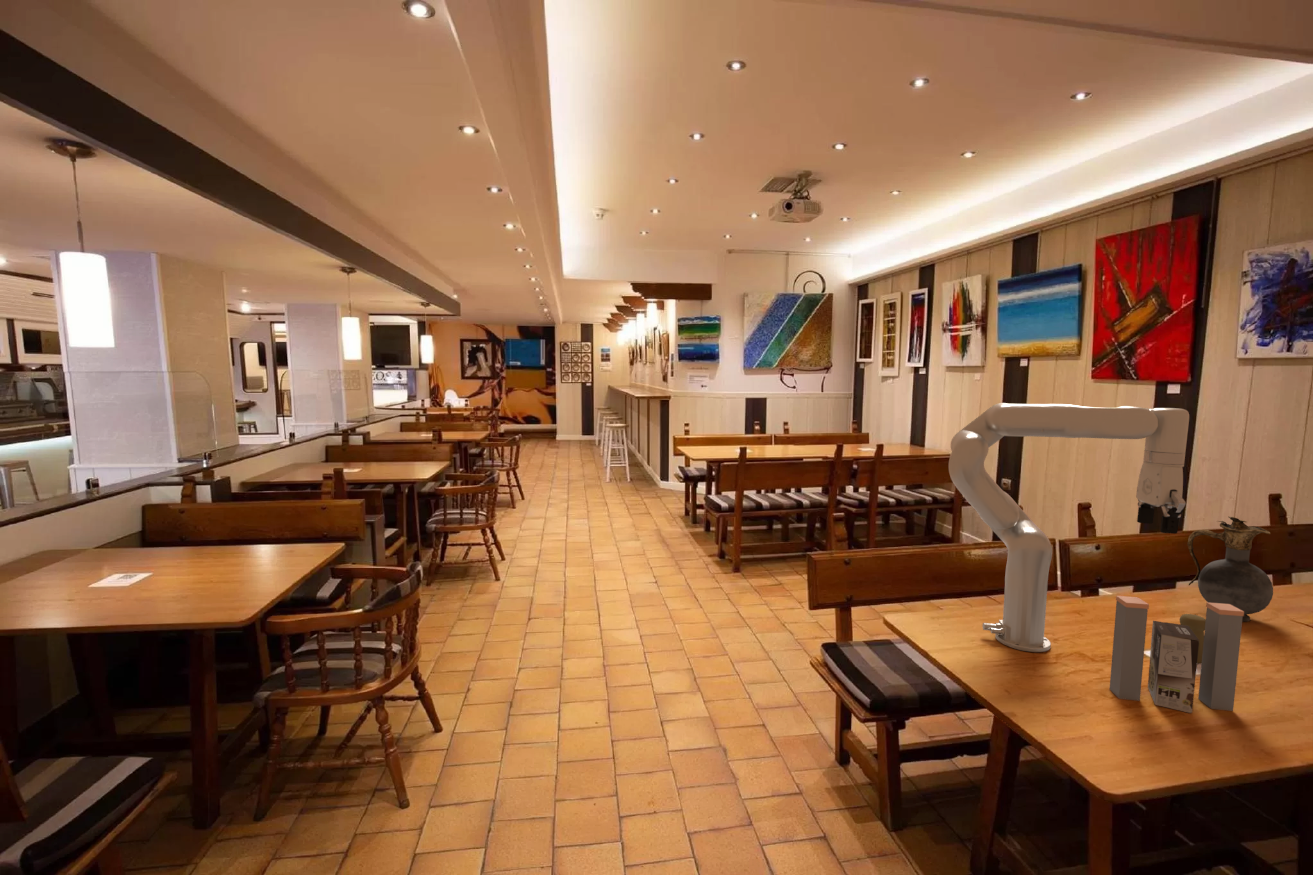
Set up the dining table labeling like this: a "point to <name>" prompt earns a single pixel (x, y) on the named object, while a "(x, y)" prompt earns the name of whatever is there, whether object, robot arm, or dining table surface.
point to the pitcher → (1234, 571)
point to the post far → (1220, 655)
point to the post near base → (1128, 647)
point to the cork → (1195, 629)
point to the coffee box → (1173, 665)
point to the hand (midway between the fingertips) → (1156, 527)
